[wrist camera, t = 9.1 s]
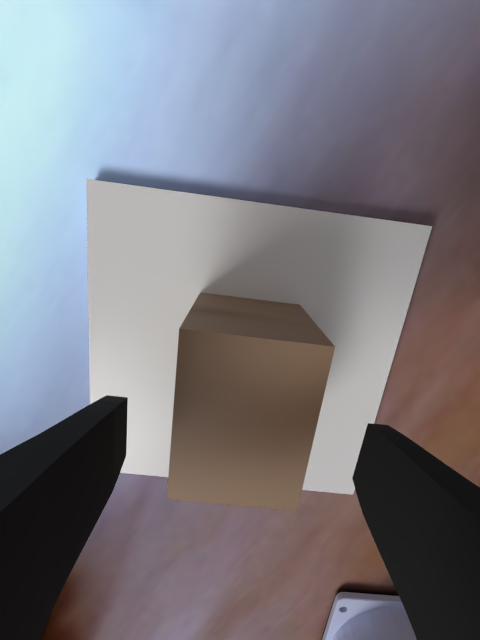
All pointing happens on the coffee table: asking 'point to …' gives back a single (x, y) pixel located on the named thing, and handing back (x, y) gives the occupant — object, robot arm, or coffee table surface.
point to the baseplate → (247, 282)
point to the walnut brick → (246, 402)
